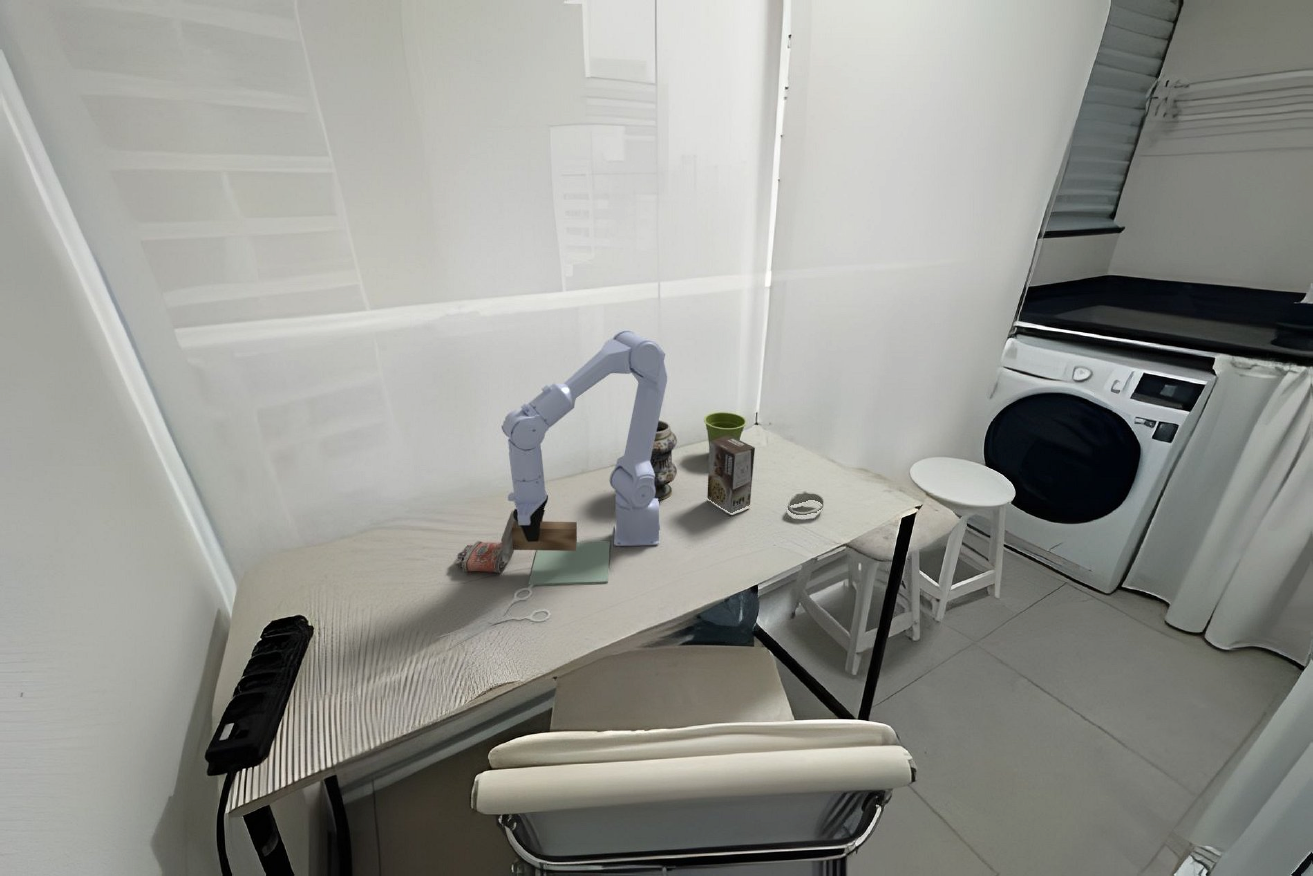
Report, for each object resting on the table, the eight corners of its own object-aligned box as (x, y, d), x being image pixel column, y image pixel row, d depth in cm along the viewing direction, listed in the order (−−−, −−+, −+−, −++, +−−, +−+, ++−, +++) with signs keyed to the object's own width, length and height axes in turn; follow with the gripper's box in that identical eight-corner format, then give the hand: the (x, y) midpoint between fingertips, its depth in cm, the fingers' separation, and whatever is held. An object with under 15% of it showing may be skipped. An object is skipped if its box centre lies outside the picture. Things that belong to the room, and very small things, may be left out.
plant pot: (700, 464, 148) (702, 426, 143) (704, 446, 158) (705, 410, 154) (743, 467, 146) (746, 429, 141) (744, 449, 157) (747, 413, 152)
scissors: (561, 612, 95) (446, 665, 84) (561, 615, 95) (447, 668, 84) (535, 581, 102) (427, 625, 91) (535, 584, 103) (427, 629, 92)
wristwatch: (812, 503, 129) (815, 485, 127) (829, 516, 124) (832, 498, 122) (780, 510, 126) (782, 492, 124) (796, 524, 121) (798, 505, 119)
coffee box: (751, 508, 127) (756, 447, 120) (730, 517, 123) (735, 454, 117) (725, 492, 134) (729, 433, 127) (705, 500, 130) (708, 440, 124)
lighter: (497, 562, 101) (448, 561, 103) (500, 576, 103) (452, 575, 104) (512, 537, 109) (466, 537, 110) (515, 551, 110) (470, 550, 112)
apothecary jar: (674, 479, 140) (676, 415, 132) (678, 503, 129) (679, 435, 121) (628, 480, 139) (627, 416, 132) (627, 504, 128) (626, 436, 121)
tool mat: (609, 542, 114) (609, 541, 114) (607, 583, 102) (607, 581, 102) (539, 544, 113) (538, 543, 113) (528, 585, 101) (528, 583, 101)
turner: (578, 532, 110) (578, 511, 107) (574, 562, 100) (573, 540, 98) (513, 531, 109) (511, 510, 107) (502, 561, 100) (501, 539, 97)
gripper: (513, 456, 104) (520, 515, 110) (496, 494, 91) (505, 559, 97) (549, 456, 105) (554, 515, 110) (538, 493, 91) (544, 558, 97)
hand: (534, 535), depth 103 cm, fingers closed on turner, 2 cm apart
